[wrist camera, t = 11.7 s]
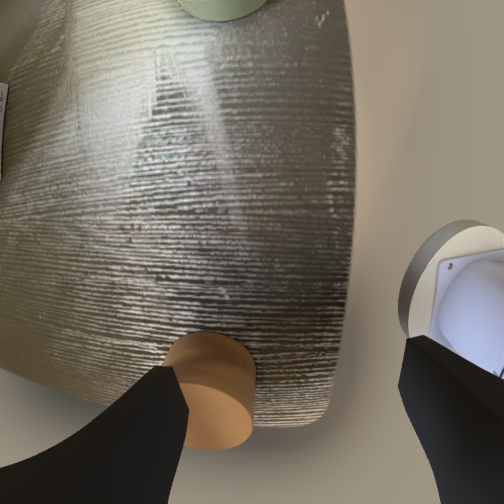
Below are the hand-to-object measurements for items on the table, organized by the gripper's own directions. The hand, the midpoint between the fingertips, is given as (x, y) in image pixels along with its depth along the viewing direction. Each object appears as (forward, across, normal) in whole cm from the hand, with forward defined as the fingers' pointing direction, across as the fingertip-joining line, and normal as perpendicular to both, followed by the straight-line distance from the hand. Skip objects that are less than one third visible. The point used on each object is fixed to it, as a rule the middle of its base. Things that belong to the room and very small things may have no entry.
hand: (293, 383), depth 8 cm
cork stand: (+10, +6, +8) cm, 14 cm away
